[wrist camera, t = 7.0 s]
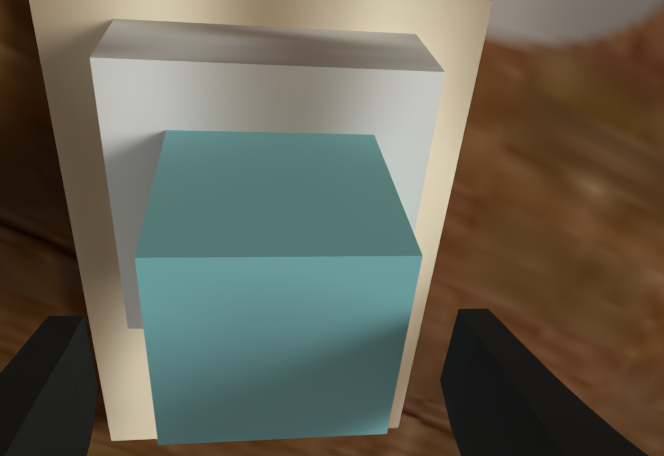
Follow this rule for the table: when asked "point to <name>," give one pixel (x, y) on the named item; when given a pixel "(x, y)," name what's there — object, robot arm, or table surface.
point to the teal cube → (274, 286)
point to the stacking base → (90, 178)
